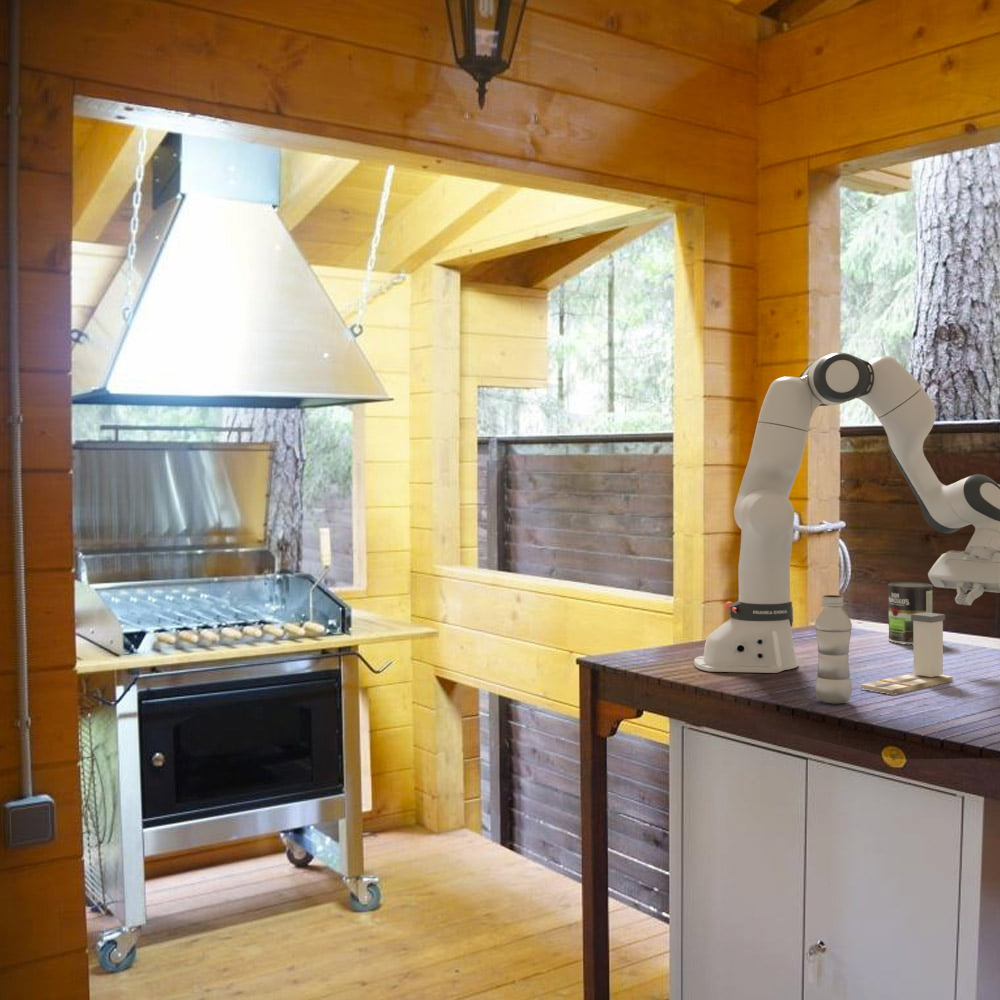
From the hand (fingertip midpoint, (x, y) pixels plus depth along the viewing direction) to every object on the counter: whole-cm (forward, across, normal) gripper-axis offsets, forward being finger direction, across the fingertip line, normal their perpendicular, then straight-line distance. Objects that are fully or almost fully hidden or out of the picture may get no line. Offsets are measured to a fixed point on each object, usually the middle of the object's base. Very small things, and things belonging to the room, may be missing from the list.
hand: (962, 603), depth 232 cm
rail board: (+24, 0, -3) cm, 24 cm away
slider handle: (+18, 0, +1) cm, 18 cm away
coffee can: (-8, -30, +29) cm, 43 cm away
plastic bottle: (+41, +1, -20) cm, 45 cm away
